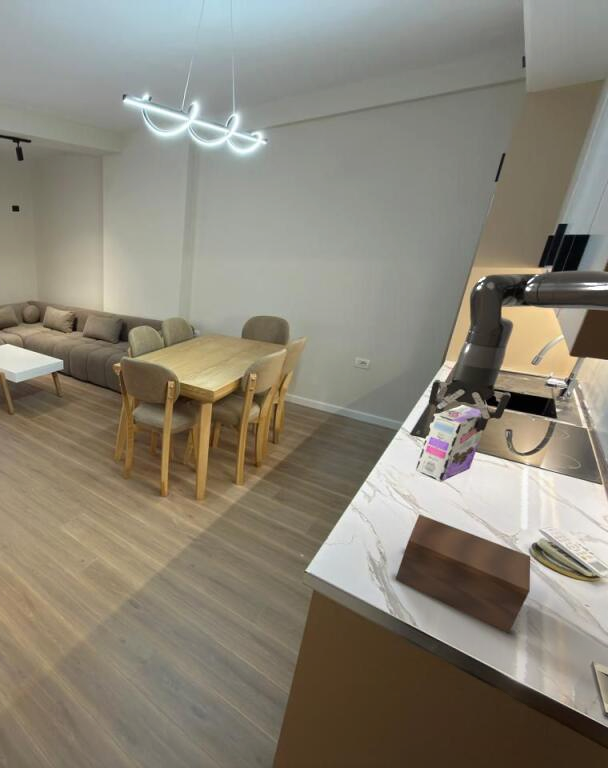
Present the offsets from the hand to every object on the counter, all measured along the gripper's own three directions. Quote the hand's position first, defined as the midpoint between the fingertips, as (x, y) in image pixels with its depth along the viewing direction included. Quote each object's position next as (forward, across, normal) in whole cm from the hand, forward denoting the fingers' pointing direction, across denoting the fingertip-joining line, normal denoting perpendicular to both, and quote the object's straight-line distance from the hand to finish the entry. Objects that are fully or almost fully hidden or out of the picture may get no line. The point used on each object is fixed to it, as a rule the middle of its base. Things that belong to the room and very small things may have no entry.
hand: (457, 425), depth 97 cm
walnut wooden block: (+28, +8, -25) cm, 38 cm away
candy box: (+13, 0, 0) cm, 13 cm away
